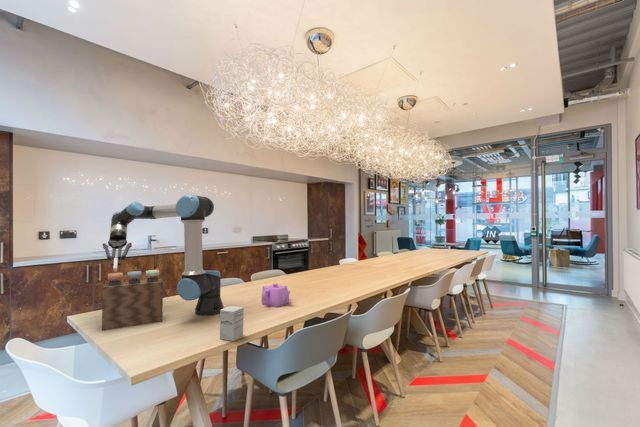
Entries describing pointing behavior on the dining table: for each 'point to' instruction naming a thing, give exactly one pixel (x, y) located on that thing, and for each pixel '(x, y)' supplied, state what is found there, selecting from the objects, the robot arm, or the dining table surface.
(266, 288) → the teakettle
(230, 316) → the supplement box
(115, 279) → the terracotta button
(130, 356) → the dining table surface
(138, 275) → the slate button
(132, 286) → the button console
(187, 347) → the dining table surface
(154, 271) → the sage button
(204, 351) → the dining table surface
